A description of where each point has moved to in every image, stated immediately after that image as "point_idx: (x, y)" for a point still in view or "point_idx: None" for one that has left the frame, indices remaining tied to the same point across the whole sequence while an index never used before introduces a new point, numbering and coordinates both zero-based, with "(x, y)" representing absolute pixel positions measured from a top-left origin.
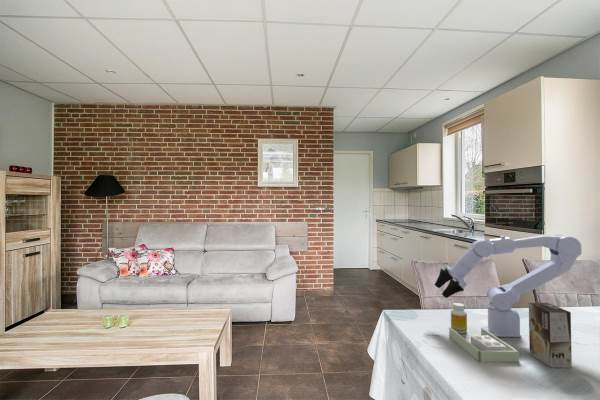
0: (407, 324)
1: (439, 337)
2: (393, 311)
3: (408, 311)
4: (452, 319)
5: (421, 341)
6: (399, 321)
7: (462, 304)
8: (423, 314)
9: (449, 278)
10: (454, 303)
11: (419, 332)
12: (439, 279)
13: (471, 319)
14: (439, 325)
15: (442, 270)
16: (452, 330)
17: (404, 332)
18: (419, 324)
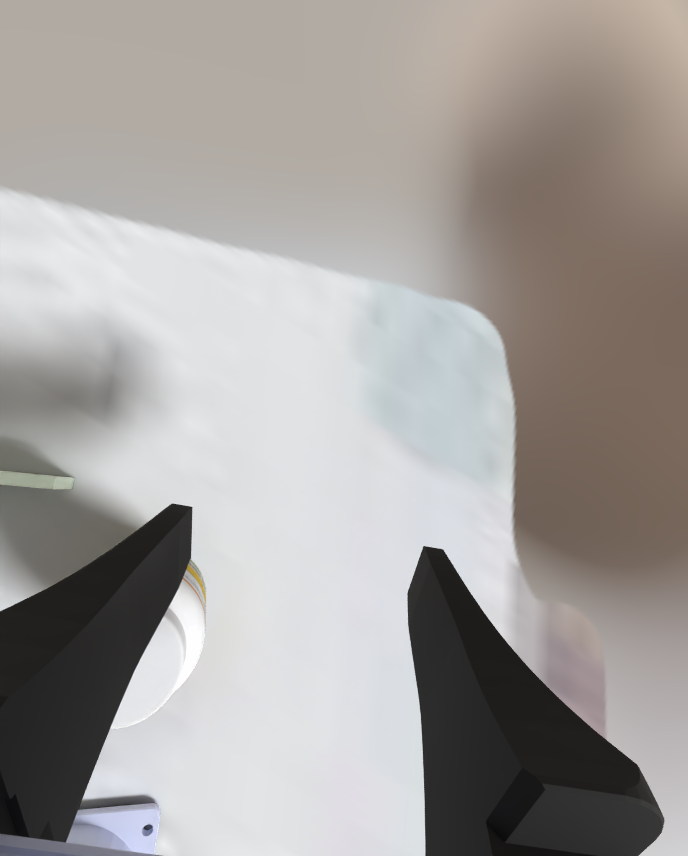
0: (294, 324)
1: (67, 401)
2: (490, 354)
3: (487, 442)
4: None
5: (29, 257)
6: (343, 304)
7: (116, 715)
8: (437, 509)
9: (434, 829)
10: (164, 637)
11: (166, 324)
12: (450, 628)
13: (331, 807)
14: (255, 512)
15: (540, 771)
16: (2, 471)
17: (180, 239)
18: (286, 394)
